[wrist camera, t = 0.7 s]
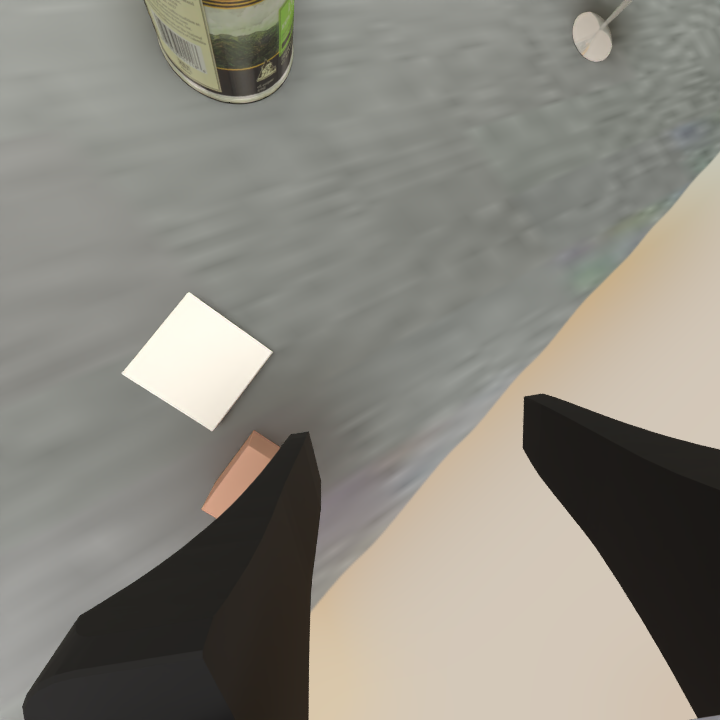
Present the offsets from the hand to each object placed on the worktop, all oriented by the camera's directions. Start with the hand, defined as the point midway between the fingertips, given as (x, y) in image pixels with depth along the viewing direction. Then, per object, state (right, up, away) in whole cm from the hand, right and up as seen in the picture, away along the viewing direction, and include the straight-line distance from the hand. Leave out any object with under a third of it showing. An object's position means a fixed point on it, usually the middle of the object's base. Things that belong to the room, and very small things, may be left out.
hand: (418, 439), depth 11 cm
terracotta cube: (-10, -7, +17) cm, 21 cm away
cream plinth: (-14, +3, +16) cm, 21 cm away
